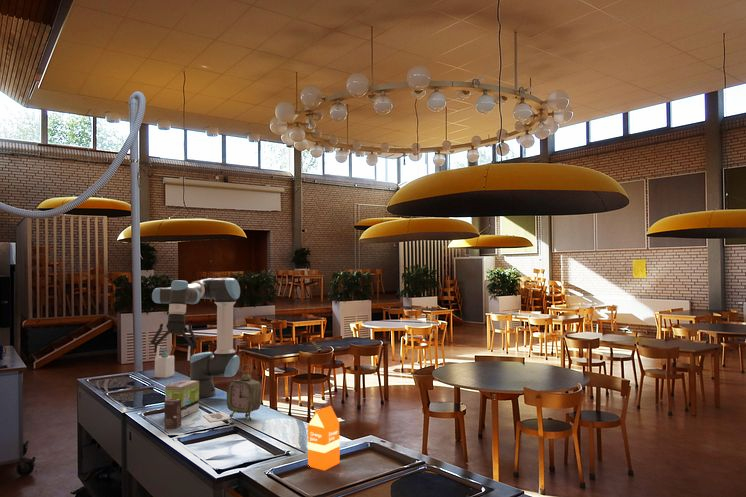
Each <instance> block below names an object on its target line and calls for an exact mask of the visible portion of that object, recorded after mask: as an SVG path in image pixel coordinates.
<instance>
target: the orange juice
mask: <svg viewBox="0 0 746 497" xmlns="http://www.w3.org/2000/svg"><path fill="white" fill-rule="evenodd" d="M340 439H341V438H340V420H339V419H338V416H337V415H336V413H335V411H334V408H333V407H332V405H328V406H326V407H322V408H320V409H318V410H315V412H314V414H313V416H312V418H311V419H310V420H309V423H308V424H307V466H308V465H309V466H310V467H309V466H308V467H309V468H314V469H318V470H321V471H326V470H328V469H331V468H332V467H334V466H337V465H338V464H340V463H341V462H340V456H341V455H340V453H341V451H340V449H341V448H340V442H341V441H340Z"/></svg>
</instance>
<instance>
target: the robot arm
mask: <svg viewBox="0 0 746 497" xmlns="http://www.w3.org/2000/svg"><path fill="white" fill-rule="evenodd" d="M240 295H241V287H240V284H239V281H238V280H237V279H236V278H234V277H217V278H216V277H209V278H203V279H199V280H194V281H191V283H189V282H188V281H187V280H182V279H181V280H176V279H175V280H173V281H171V285H170V287H169V286H168V287H156V288H154V289H153V291H152V293H151V299H152V301H153V302H154V303H156V304H168V306H169V307H168V317H167V323H166V324H164V323H160V324H159V328H158V330H156V333H155V335H153V338H152V339H151V341H150V344H152V345H153V346H154V349H153V350H154V353H155V354H156V355H155V357H156V360H159V356H160V350H161V348H160V347H161V346H160V343H162V342H163V340H165V339H166V337H168V336H169V335H170V334H172V335H182V336H183V338H184V339H185V340H186V341H187V343H188V344H189V345H188V347H187V348H188V349H187V362H188V361H189V362H190V363H189V364H190V365H189V368H190V375H189V377H190V378H189V380H190V381H199V399H203V398H209V397H213V396H215V395H216V393H217V392H216V387H215V385H214V381H213V377H224V378H227V377H230V378H231V377H233V376H235V375H236V374H237V373H238V371H239V369H240V363H241V361H240V356H239V355H237V354H236V350H235V349H234V305H235V304H236V302H237V300H238V299H239V298H240ZM201 299H208V300H214V301H213V302H214V304H215V305H216V307H217V308H216V310H217V311H216V314H217V315H216V350H215V351H214V352H212V351H205V352H199V353H194V354H193V352H194V346H197V345H198V344H199V343H198V341H197V339H196V336H195V334H194V331H193V328H192V327H193V326H192V324H187V325H186V317H187V316H186V313H187V304H189V305H195V304H198V303H199V302H200V300H201ZM165 328H166V329H167V331H165V332H164V334H162V336H161V337H160V335H161V333H162V331H163V330H164V329H165ZM185 329H186V330H188V331H189V334H190V336H191V337H190V338H191V339H192V340H191V339H190V338H189V337H188V335H187V334H186V333H185V331H184V330H185ZM159 337H160V338H159ZM192 341H193V342H192ZM191 354H192V355H191Z"/></svg>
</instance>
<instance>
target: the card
mask: <svg viewBox="0 0 746 497" xmlns="http://www.w3.org/2000/svg"><path fill="white" fill-rule="evenodd" d="M202 417H203V418H205V419H206V420H207V421H208V422H209V423H215V422H221V421H228V420H232V419H231V417H230V415H228V413H226V412H224V411H220V412H214V413H208V414H203V415H202ZM227 419H228V420H227Z"/></svg>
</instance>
